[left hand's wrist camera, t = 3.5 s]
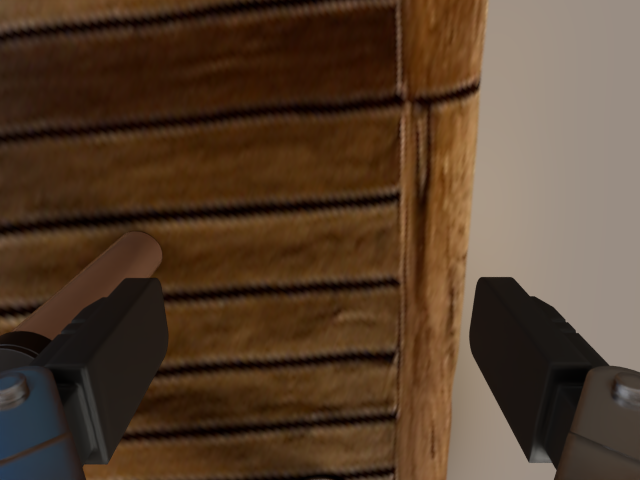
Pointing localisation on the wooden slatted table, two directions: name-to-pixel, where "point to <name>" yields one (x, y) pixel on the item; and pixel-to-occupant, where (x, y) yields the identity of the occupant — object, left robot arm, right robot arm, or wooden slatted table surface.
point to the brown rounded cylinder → (96, 282)
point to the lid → (20, 348)
